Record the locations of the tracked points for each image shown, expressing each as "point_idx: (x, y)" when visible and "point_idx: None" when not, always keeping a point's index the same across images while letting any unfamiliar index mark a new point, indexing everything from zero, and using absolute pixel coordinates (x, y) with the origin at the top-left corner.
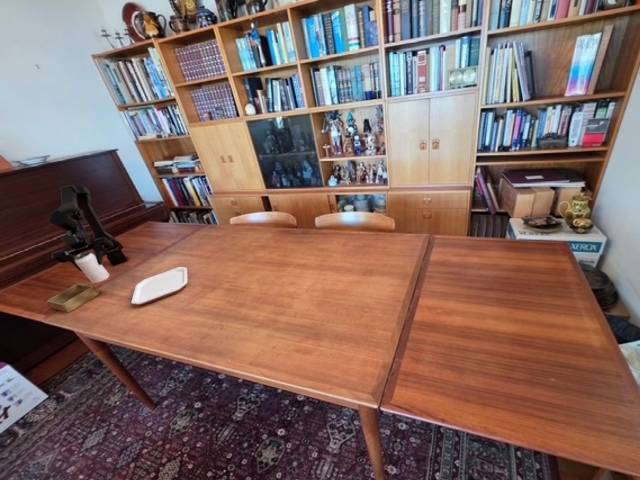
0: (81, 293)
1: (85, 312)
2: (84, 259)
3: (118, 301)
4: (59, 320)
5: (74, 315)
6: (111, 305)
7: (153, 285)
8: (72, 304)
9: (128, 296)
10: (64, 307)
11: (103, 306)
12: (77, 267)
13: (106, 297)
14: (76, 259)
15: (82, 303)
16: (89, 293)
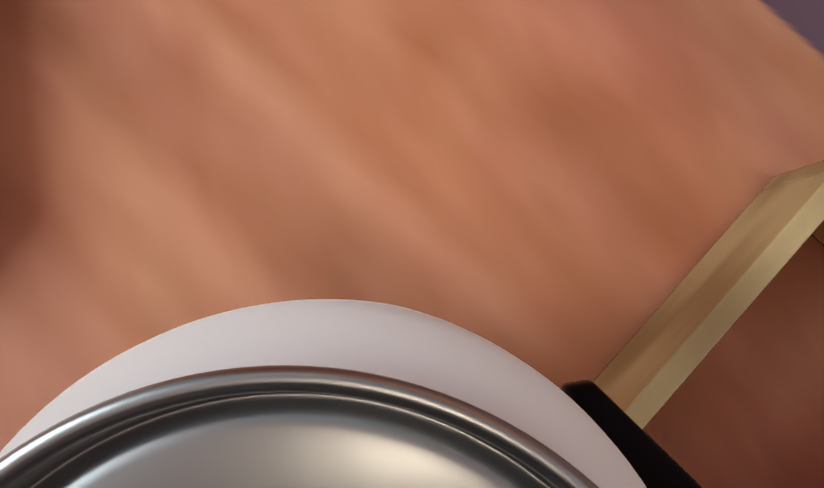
0: (682, 348)
1: (547, 41)
2: (149, 373)
3: (195, 52)
4: (813, 48)
5: (665, 53)
6: (260, 7)
7: None
8: (754, 225)
9: (93, 100)
10: (821, 162)
11: (358, 47)
12: (645, 455)
13: (392, 266)
14: (506, 436)
15: (673, 291)
16: (609, 393)
